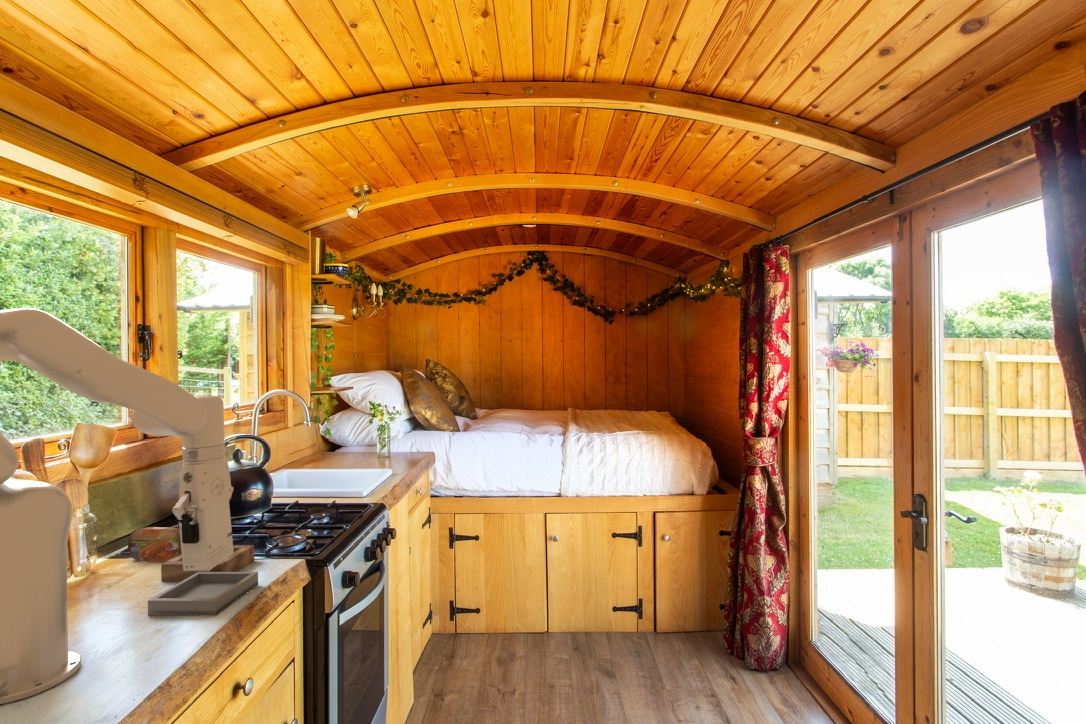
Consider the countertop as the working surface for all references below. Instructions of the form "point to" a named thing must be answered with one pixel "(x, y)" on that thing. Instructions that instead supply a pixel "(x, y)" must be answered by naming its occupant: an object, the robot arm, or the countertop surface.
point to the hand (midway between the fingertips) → (206, 535)
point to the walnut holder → (233, 563)
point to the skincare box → (209, 538)
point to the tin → (155, 544)
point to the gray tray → (202, 594)
